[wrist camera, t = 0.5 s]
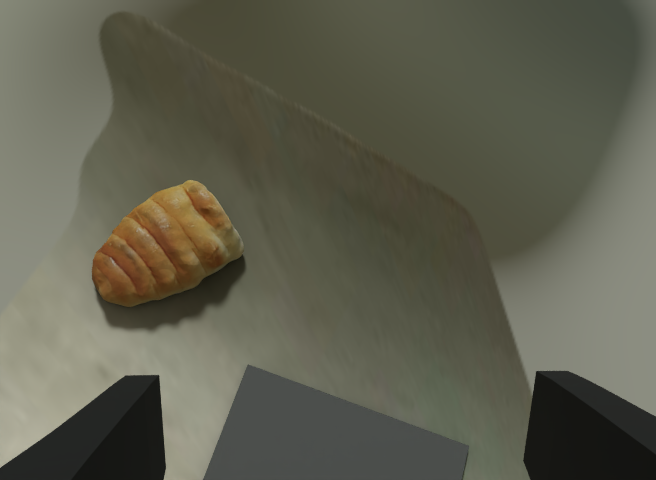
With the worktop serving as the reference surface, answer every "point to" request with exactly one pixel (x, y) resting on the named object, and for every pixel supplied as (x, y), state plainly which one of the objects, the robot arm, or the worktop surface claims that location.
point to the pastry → (165, 246)
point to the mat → (323, 439)
